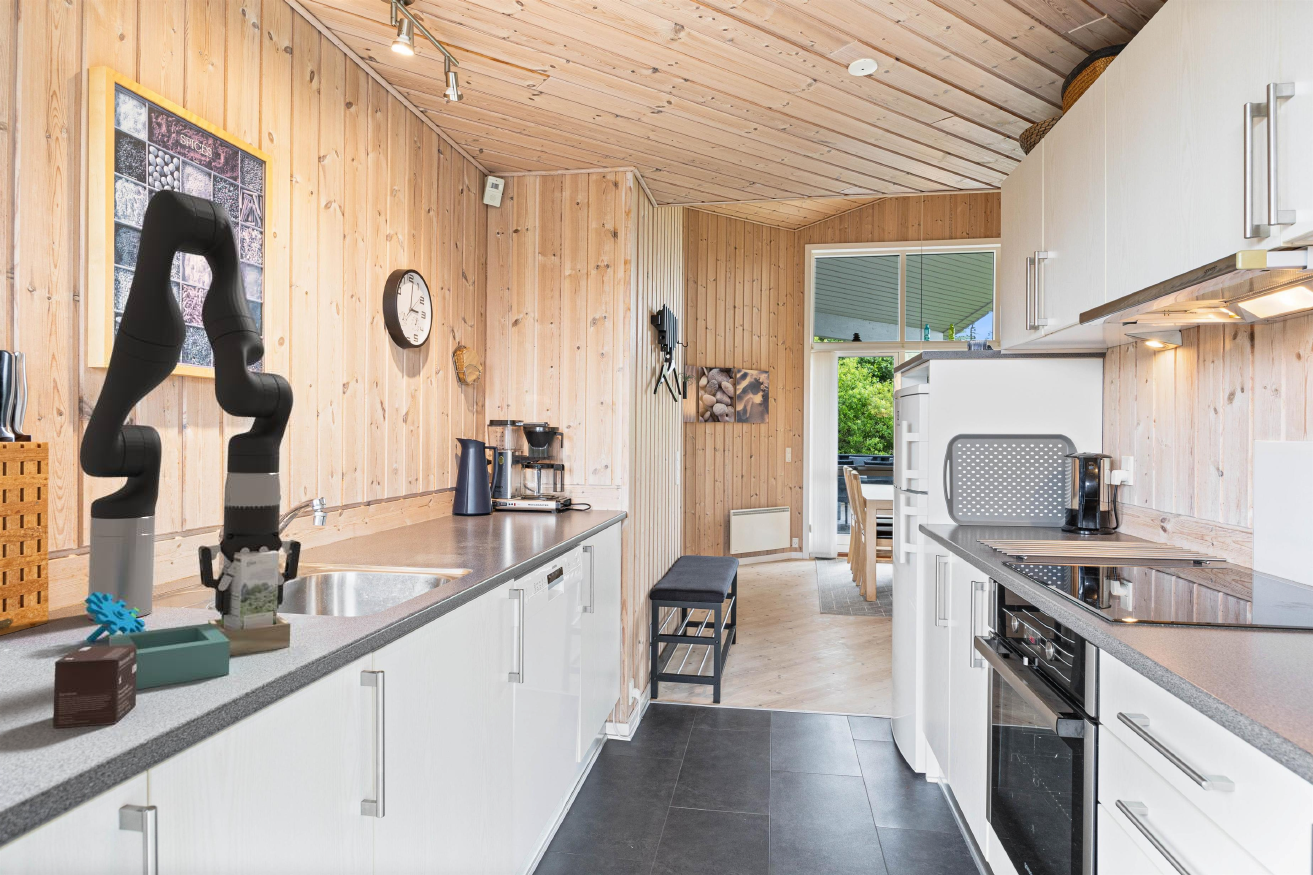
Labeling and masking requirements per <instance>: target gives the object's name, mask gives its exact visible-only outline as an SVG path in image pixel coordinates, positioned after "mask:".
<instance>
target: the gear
mask: <svg viewBox="0 0 1313 875" xmlns="http://www.w3.org/2000/svg"><path fill="white" fill-rule="evenodd" d="M112 599H113V596H112V595H110V594H108V593H106V594H104V595H103V596H102V594H101V593H99V592H94V593H93V594H91V595H90V596H89V597H88V596H87V597H86V598H85V599H84V602H85V603H86V604H87V606H86V607H85V610H86V613H87V614H88V613H91V614H95V615H97V616H96V617H95V618H94V620H93V621H94V623H96V625H98V626H99V627H97V629H96V630H94V631H93V632H92V633H91V634H90V635H89V636H88V637H87V638H86V641H87V642H88V643H90V644H91V643H94V642H95V641H96V640H97V639H98V638H100V637H101V635H103V634H104V633H105V632H107V633H108V634H109V636H110V635H116V633H118V632H121V634H126V633H134V632H142V631H147V630H146V629H145V628H144V627H145V626H146V622H145V621H144V620H143V619H138V618H137V617H136V616H138V612H139V610H138V609H137V608H136V607H133V608H132V609H131V610H127V609H124V607H125V606H126V605H127V604H126V603H125V602H124V601H122V600H119V601H117V602H116V603H113V602H112V601H111V600H112ZM88 604H89V606H88Z"/></svg>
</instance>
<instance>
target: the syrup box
mask: <svg viewBox="0 0 1313 875" xmlns="http://www.w3.org/2000/svg"><path fill="white" fill-rule="evenodd" d="M235 558H236V566H235V567H234V569H235V576H234V577H233V578H232V580H231V582H230V583H229V585H228V587H227V590H229V601H228V615H223V616H222V615H221V616H220V619H221V627H222V628H223V629H224V630H225V631H231V630H239V629H246V628H254V627H262V626H269V625H276V618H277V615H278V613H277V612H278V609H277V595H278V573H279V571H280V568H279V566H280V552H279V551H278V552H277V551H275V550H270V551H269V552H259V551H251V552H249V553H238V552H235V555H234V559H235ZM222 564H223V567H224V566H225V565H226V567H227V568H229V567H230V565H231V564H232V563H231V562H230V561H229V560H227V558H226V557H225V556H224V555H223V563H222ZM223 567H222V568H223Z"/></svg>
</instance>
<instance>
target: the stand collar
mask: <svg viewBox="0 0 1313 875" xmlns="http://www.w3.org/2000/svg"><path fill="white" fill-rule="evenodd" d="M207 623H211V624H212V625H213V626H214V627H215V628H216V629H218V630H219V631H220V632H221V633H222V634H223V635H224V636H225V637H226V638H227V639H229V640H230V656H229V657H231V656H236V655H243V654H244V655H245V654H250V653H255V652H257V653H258V652H262V651H263V652H264V651H268V650H269V651H270V650H276V649H282V648H289V647H291V623H290V622H288V621H287V620H286V619H284V618H282V617H281V616H280V615H278V614H277V618H276V625H269V626H262V627H254V628H246V629H239V630H231V631H225V630H224V629H223V628H222V627H221V618H215V619H214V618H213V619H209V620H208V621H207Z"/></svg>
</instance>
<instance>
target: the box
mask: <svg viewBox="0 0 1313 875" xmlns="http://www.w3.org/2000/svg"><path fill="white" fill-rule="evenodd" d="M136 653H137V645H121V646H109V645H108V646H107V645H106V646H104V645H103V646H87V647H86V646H85V647H79V648H77V649H76V650H74V651H71V652H69V653H66V654H65V655H64V656H63V657H62V658H60V659H58V660H56V661H55V662H54V682H53V683H54V684H53V685H54V687H53V688H54V690H53V715H52V716H53V718H52V719H53V720H52V721H53V722H52V728H55V729H59V728H73V727H84V726H86V727H87V726H98V725H99V726H100V725H103V726H104V725H112V724H116V723H119V721H121V720H122V719H123V718H124V717H125V716H127V715H128V714H129V713H130V712H131V711H132V710H133V709H134V708H135V707H136V705H137V690H136V668H137V667H136V664H137V655H136Z"/></svg>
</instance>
